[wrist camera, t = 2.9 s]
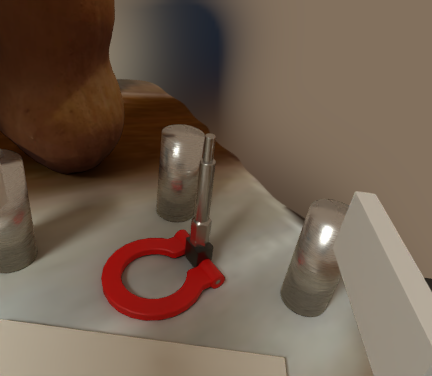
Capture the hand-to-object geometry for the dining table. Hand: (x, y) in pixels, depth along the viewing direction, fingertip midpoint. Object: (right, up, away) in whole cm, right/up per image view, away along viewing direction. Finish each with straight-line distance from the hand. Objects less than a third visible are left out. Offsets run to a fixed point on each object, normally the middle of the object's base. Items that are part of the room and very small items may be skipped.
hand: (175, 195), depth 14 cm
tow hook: (-3, -8, +18) cm, 20 cm away
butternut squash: (-16, +3, +30) cm, 35 cm away
